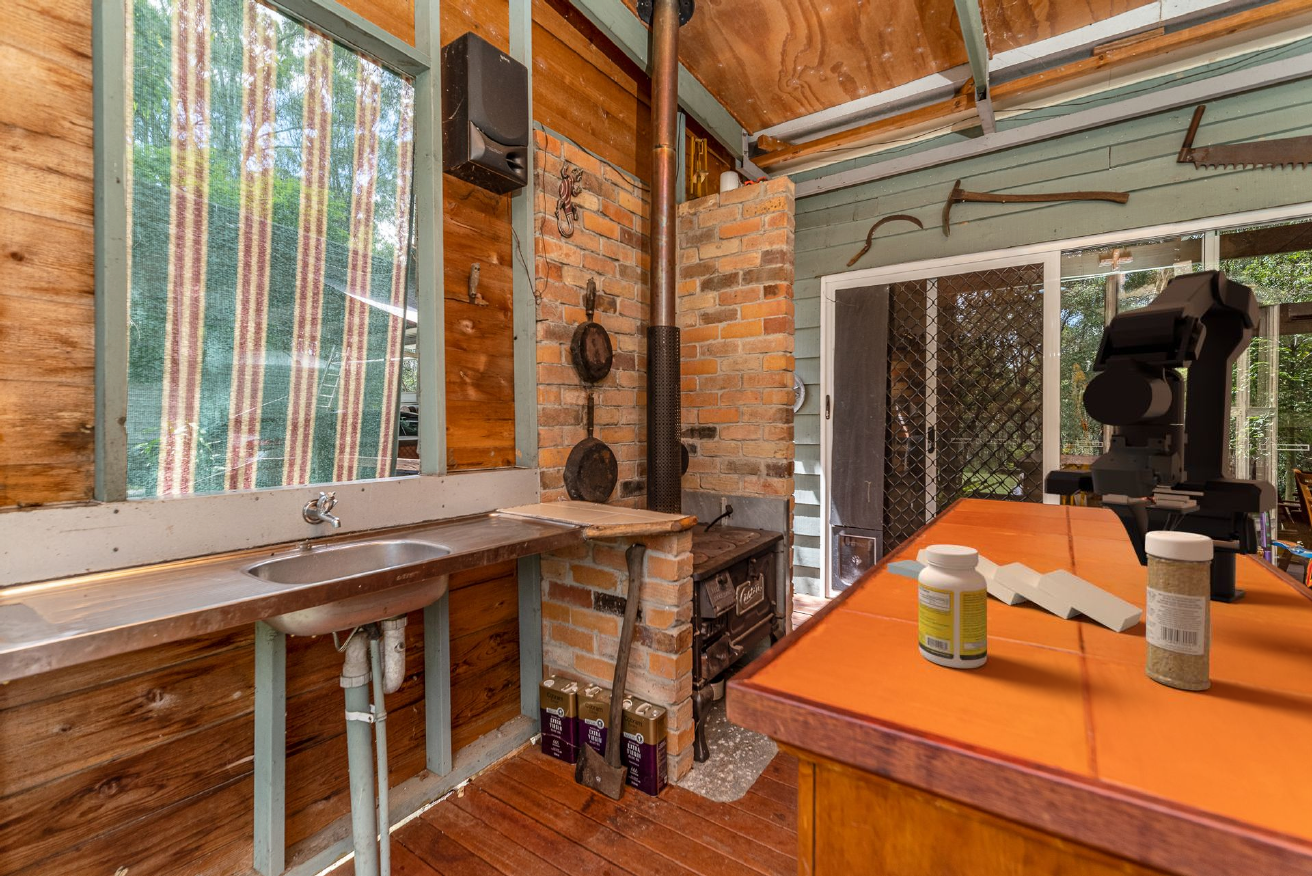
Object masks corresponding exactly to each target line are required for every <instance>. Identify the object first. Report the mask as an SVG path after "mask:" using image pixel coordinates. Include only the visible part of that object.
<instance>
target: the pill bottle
mask: <svg viewBox="0 0 1312 876" xmlns="http://www.w3.org/2000/svg"><path fill="white" fill-rule="evenodd" d="M925 549H926V559H927V560H926V561H927V562H928V563H929V566H928V567H926V568H924V569H923V570H922V571H921V572H920V574H919V578H918V581H917V582H918V583H917V584H918V587H917V589H918V648H919V652H920V654H921V656H922V657H924V658H925V659H926V660H928V661H930V662H931V663H934V664H938V665H940V666H944V667H949V668H955V669H965V670H966V669H967V670H968V669H975V668H979V667H981V666H983V665H984V664H985V663H986V662H987V660H988V659H987V658H988V592H987V583H986V580H985V578H984V576H983V575H982V574H981V573H979V572H978V571H976V570H975V567H977V566H978V563H979V560H978V554H979V551H978V550H977V549H975V548H972V547H969V546H964V545H955V544H932V545H928V546H927V547H926V548H925Z"/></svg>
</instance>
